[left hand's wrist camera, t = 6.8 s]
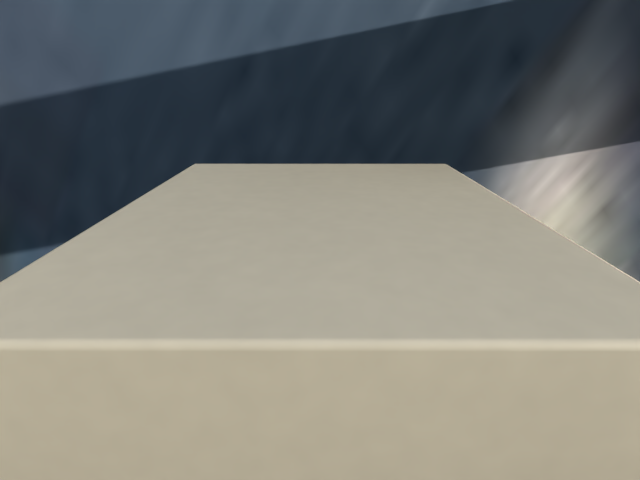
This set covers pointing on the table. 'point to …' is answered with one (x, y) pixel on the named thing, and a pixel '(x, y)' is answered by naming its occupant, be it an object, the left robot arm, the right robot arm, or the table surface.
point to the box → (320, 337)
